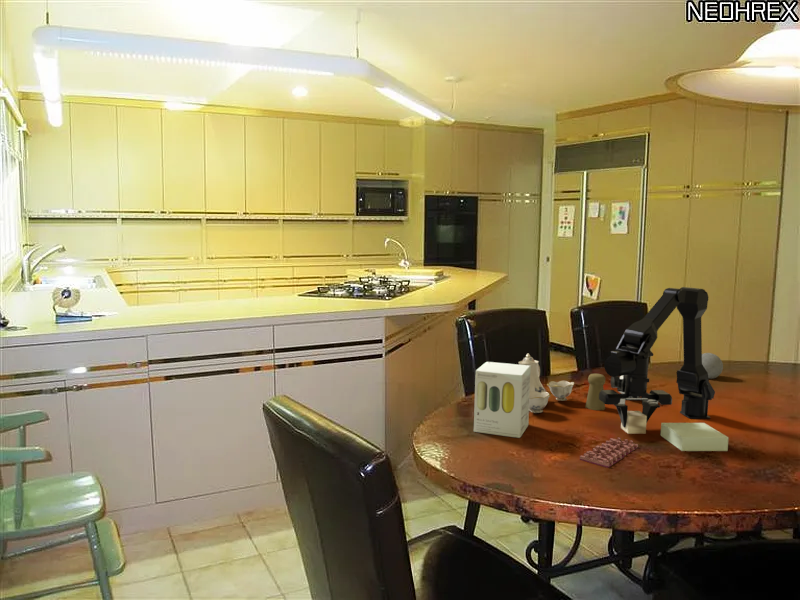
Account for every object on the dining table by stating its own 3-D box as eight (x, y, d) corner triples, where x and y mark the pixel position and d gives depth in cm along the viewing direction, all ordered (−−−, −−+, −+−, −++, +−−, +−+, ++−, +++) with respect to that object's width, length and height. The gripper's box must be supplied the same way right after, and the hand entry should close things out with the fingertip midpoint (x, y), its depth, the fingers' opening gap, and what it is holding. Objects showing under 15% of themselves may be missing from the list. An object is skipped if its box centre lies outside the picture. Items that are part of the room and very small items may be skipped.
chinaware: (547, 422, 183) (549, 366, 181) (495, 412, 192) (497, 358, 190) (577, 401, 206) (580, 351, 204) (530, 392, 215) (532, 345, 214)
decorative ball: (699, 374, 247) (701, 349, 246) (726, 379, 240) (728, 353, 238) (688, 378, 240) (690, 352, 239) (715, 383, 233) (717, 356, 232)
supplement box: (472, 432, 173) (474, 370, 171) (484, 418, 185) (485, 360, 183) (520, 438, 168) (522, 374, 166) (529, 424, 180) (531, 365, 178)
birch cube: (638, 427, 179) (639, 410, 178) (645, 433, 174) (646, 416, 173) (620, 427, 178) (621, 410, 178) (628, 433, 173) (629, 416, 173)
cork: (606, 411, 194) (608, 376, 193) (586, 410, 195) (587, 375, 194) (604, 406, 200) (605, 372, 199) (584, 404, 201) (586, 371, 200)
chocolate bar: (638, 448, 163) (638, 441, 163) (608, 468, 149) (608, 460, 149) (611, 442, 168) (612, 435, 168) (579, 461, 154) (580, 453, 153)
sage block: (703, 436, 173) (704, 422, 172) (727, 452, 161) (728, 437, 160) (660, 436, 172) (661, 422, 172) (681, 452, 160) (682, 437, 160)
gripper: (656, 366, 183) (653, 418, 184) (593, 366, 182) (590, 418, 183) (674, 375, 171) (671, 430, 173) (607, 375, 171) (604, 430, 172)
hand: (633, 427), depth 176 cm, fingers closed on birch cube, 5 cm apart
